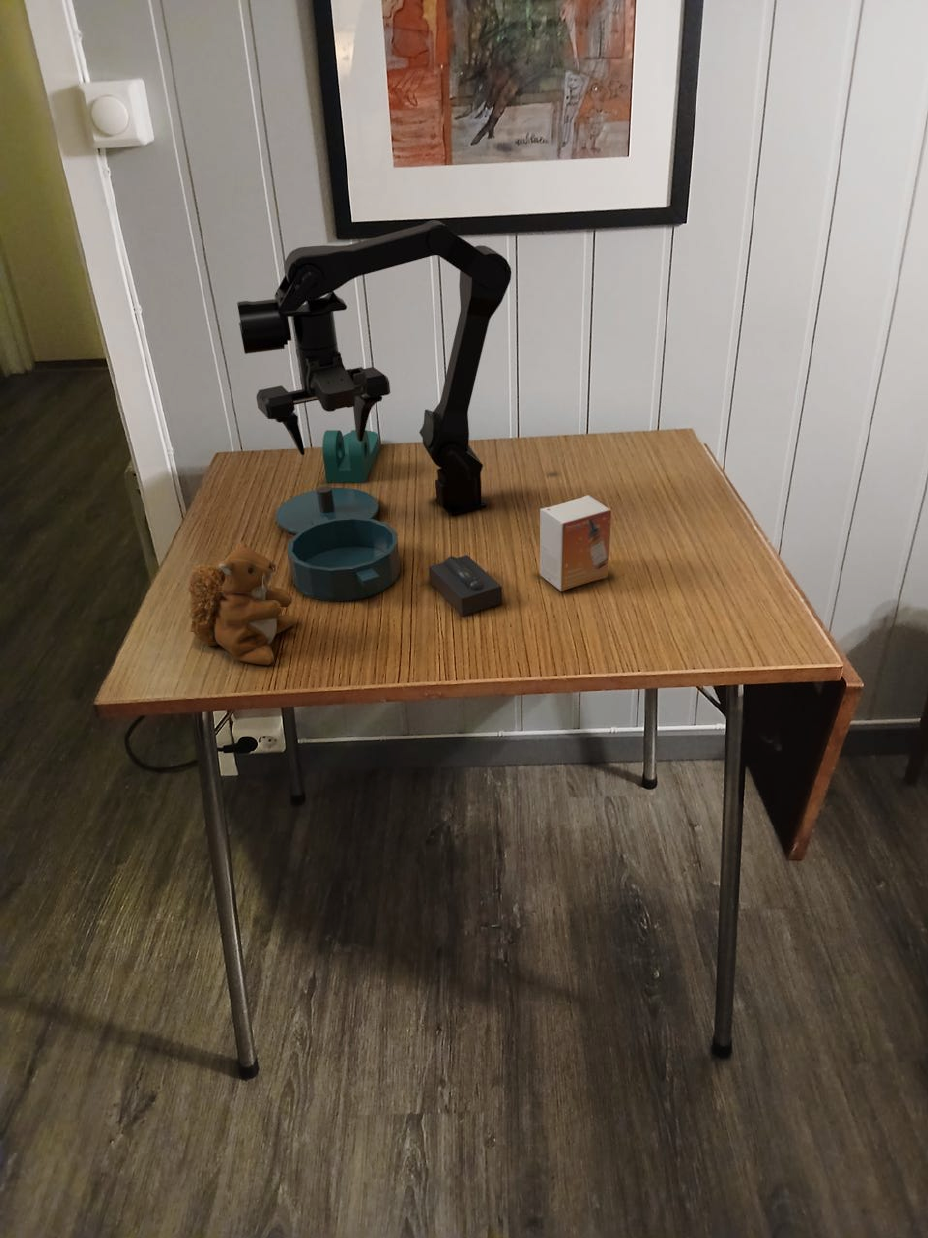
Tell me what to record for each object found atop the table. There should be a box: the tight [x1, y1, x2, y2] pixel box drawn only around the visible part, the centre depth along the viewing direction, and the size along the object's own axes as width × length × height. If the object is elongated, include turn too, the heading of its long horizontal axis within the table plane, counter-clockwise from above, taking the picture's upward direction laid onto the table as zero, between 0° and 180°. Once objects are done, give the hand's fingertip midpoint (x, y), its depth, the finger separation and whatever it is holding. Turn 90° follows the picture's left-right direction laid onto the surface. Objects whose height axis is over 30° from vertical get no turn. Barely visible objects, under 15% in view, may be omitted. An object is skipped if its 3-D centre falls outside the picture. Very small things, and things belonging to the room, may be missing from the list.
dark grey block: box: [428, 554, 503, 617], centre depth 126 cm, size 6×10×4 cm, turn 27°
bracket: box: [321, 429, 381, 483], centre depth 165 cm, size 18×7×8 cm, turn 174°
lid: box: [275, 485, 379, 535], centre depth 148 cm, size 16×16×5 cm
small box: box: [539, 494, 612, 592], centre depth 127 cm, size 8×6×10 cm
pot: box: [286, 517, 401, 602], centre depth 132 cm, size 15×21×5 cm
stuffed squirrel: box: [188, 541, 295, 666], centre depth 117 cm, size 10×14×13 cm
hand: (331, 447), depth 140 cm, fingers open, 9 cm apart
